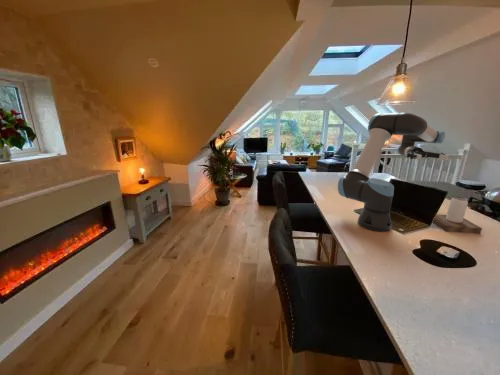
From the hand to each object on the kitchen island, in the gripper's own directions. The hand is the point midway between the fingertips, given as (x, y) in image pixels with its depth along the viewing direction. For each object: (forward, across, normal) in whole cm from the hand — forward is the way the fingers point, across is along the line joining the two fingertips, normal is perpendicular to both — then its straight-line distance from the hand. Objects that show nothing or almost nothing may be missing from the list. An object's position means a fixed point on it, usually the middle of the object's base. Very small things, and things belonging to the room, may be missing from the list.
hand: (434, 157), depth 126 cm
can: (+19, -5, -29) cm, 35 cm away
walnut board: (+19, -4, -32) cm, 38 cm away
